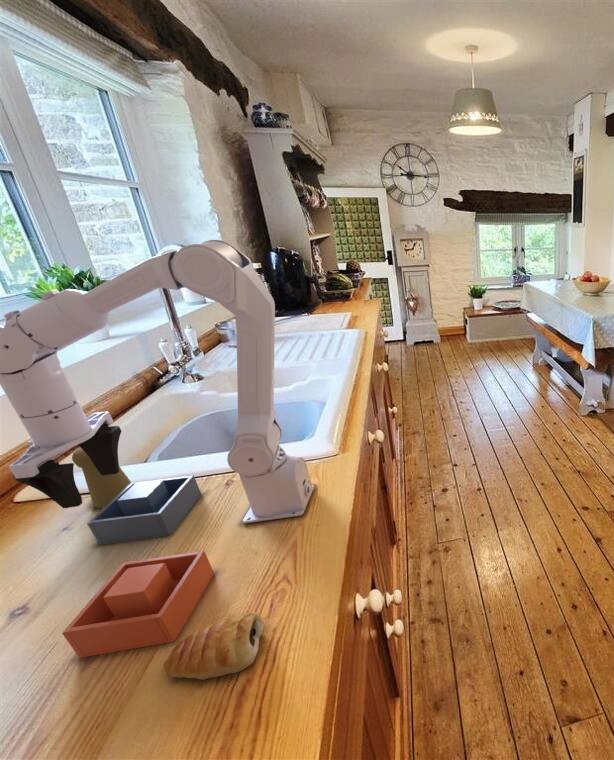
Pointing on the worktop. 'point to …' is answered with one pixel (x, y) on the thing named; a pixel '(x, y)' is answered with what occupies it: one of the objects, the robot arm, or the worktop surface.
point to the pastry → (217, 648)
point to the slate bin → (162, 523)
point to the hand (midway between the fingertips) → (92, 488)
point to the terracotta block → (140, 591)
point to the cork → (100, 480)
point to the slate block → (144, 498)
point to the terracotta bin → (106, 634)
